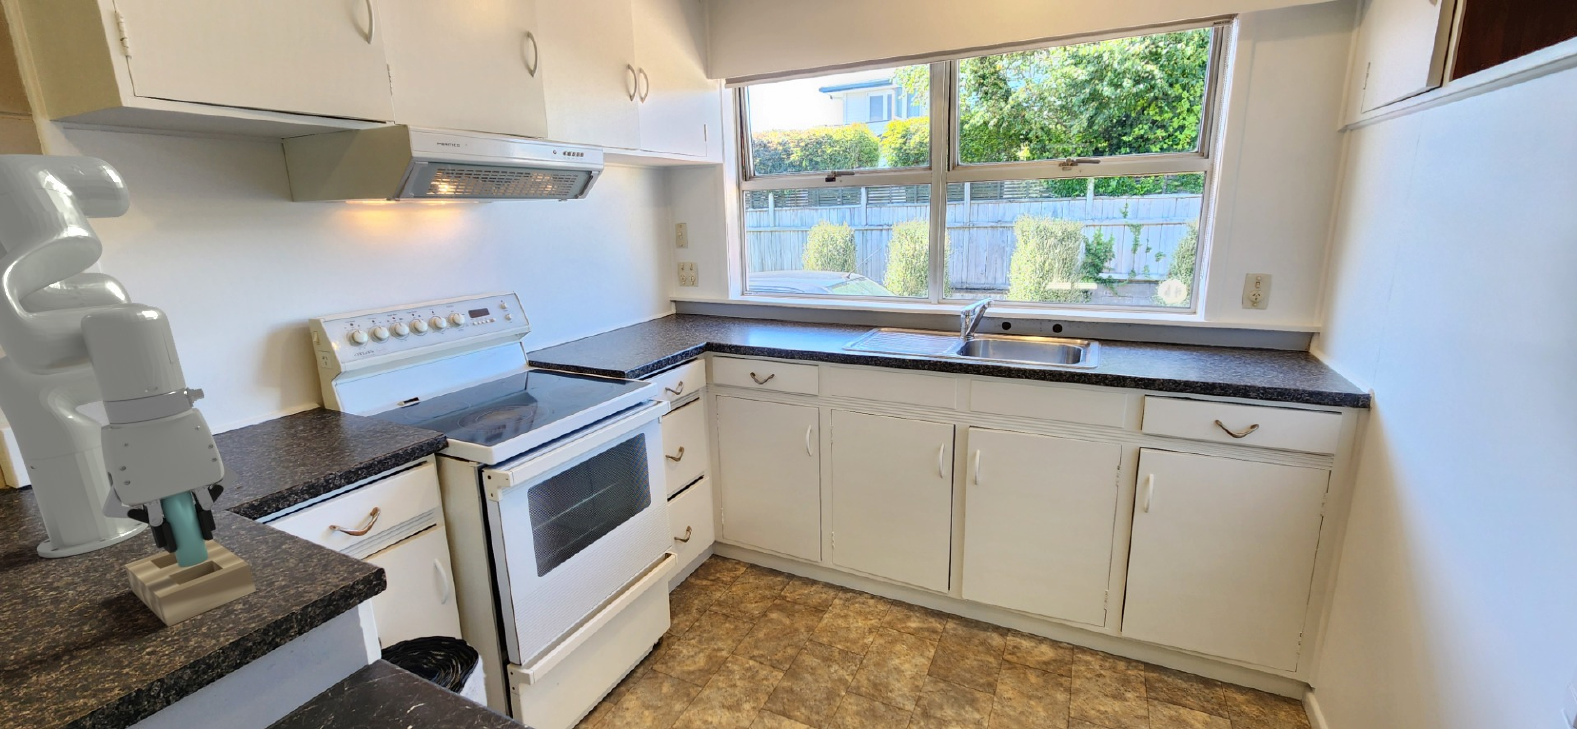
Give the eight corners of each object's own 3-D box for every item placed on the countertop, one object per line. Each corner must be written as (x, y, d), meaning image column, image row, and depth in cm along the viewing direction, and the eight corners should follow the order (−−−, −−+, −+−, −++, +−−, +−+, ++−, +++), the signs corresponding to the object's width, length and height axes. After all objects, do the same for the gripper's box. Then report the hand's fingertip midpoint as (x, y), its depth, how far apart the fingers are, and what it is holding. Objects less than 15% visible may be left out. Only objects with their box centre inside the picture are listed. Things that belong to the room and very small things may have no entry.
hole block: (132, 591, 90) (124, 565, 89) (215, 561, 97) (208, 536, 96) (168, 626, 81) (159, 597, 80) (256, 591, 88) (249, 564, 88)
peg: (175, 564, 85) (154, 492, 83) (204, 553, 88) (184, 483, 86) (182, 569, 84) (161, 496, 81) (212, 558, 86) (192, 487, 84)
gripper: (221, 388, 90) (254, 513, 94) (46, 423, 77) (93, 566, 81) (242, 394, 86) (274, 524, 90) (60, 431, 73) (108, 581, 77)
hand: (188, 542), depth 85 cm, fingers closed on peg, 3 cm apart
